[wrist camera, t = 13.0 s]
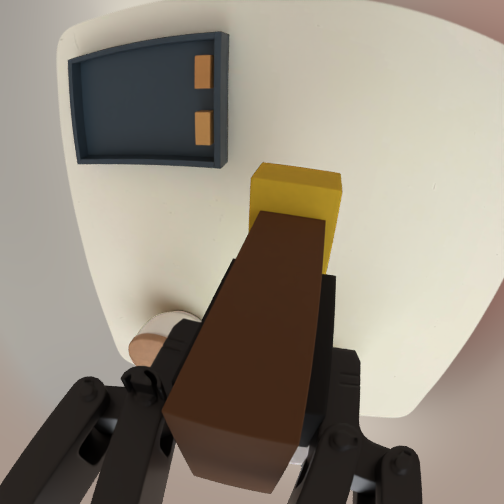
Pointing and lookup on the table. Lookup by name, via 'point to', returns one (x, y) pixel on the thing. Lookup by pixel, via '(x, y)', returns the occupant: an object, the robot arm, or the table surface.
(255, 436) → the brush
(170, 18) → the table surface
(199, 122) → the crumb
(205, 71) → the crumb
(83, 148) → the tray
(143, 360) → the trinket box
